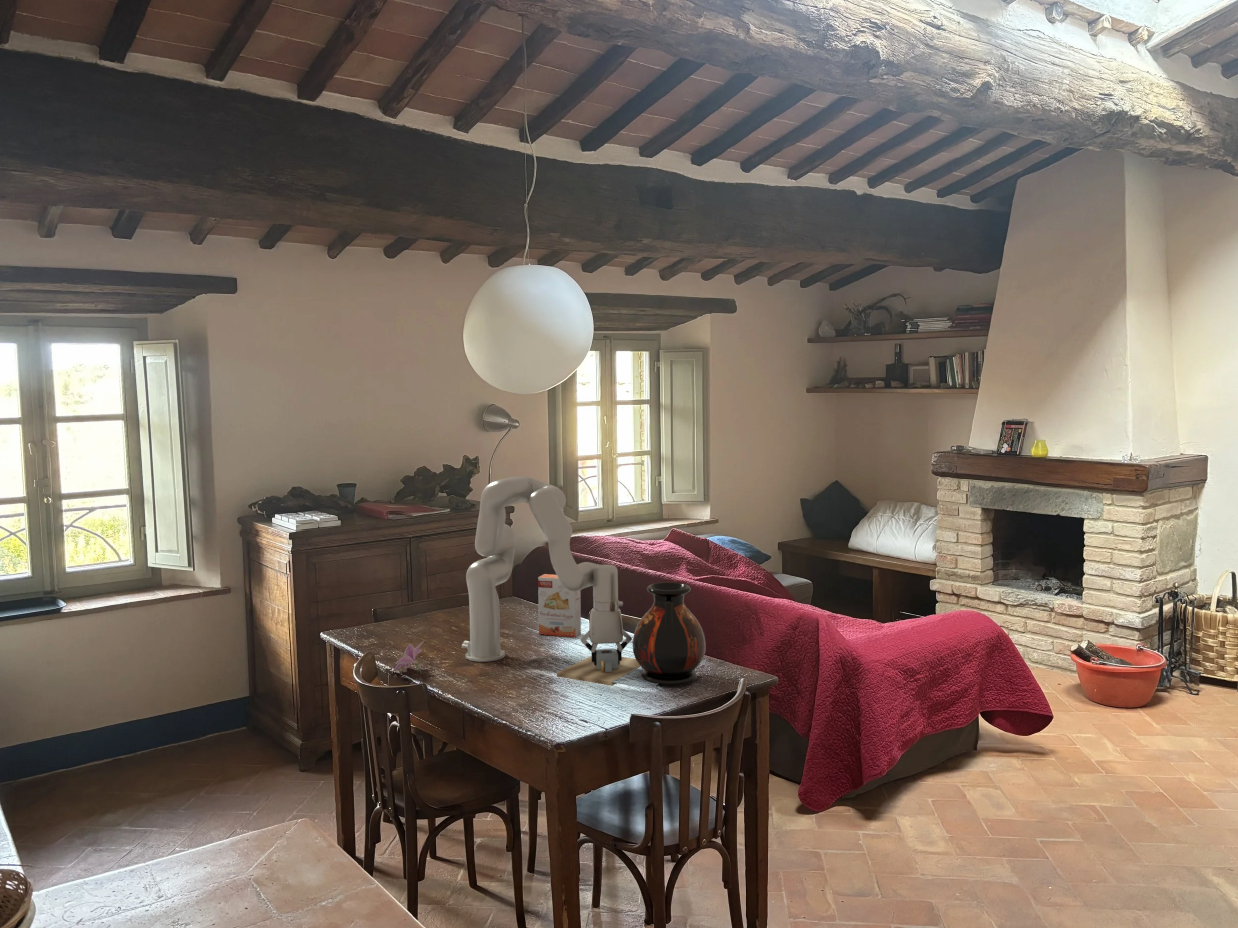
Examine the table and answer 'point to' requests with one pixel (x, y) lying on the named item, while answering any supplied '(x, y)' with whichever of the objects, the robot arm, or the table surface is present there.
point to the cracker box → (558, 608)
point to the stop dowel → (602, 666)
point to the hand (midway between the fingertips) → (606, 663)
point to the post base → (598, 671)
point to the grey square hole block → (607, 659)
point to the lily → (408, 656)
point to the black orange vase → (669, 638)
